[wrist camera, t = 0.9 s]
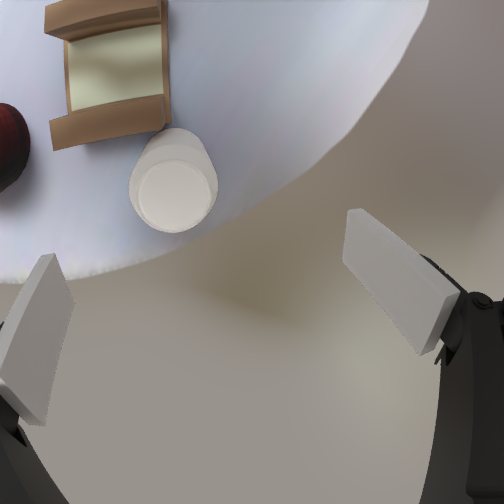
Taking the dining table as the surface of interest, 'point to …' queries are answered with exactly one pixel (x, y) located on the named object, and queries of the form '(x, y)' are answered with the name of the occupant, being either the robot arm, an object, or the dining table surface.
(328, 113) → the dining table surface
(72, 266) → the dining table surface
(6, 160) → the mug
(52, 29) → the post bracket
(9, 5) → the dining table surface
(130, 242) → the dining table surface
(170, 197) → the beverage can
